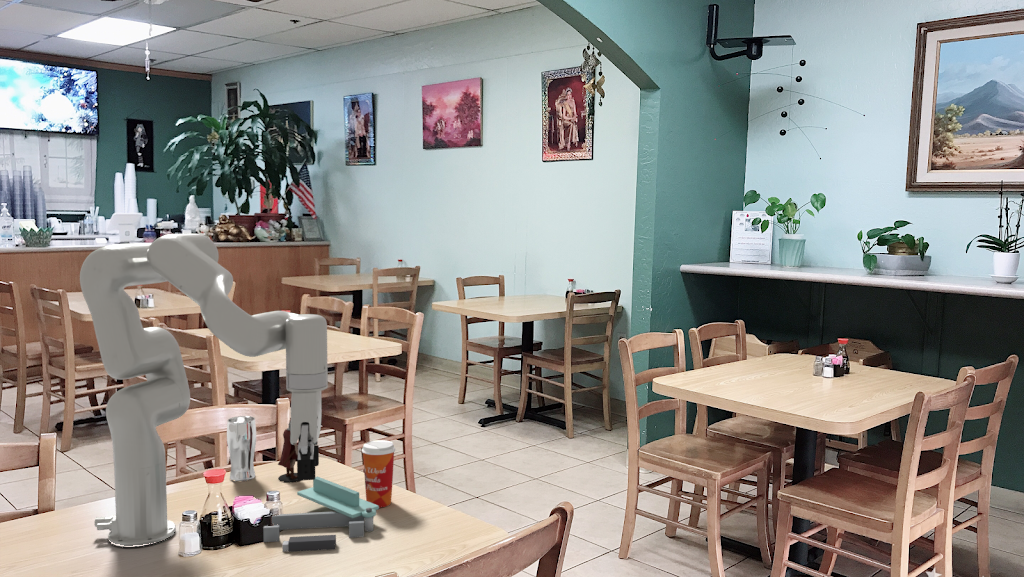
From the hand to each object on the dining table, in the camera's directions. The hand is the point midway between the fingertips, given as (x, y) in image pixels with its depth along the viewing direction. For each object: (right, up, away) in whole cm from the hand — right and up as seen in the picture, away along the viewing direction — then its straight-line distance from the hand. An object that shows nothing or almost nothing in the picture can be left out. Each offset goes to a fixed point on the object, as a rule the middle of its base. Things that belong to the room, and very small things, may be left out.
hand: (308, 471), depth 149 cm
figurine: (-17, -13, +48) cm, 53 cm away
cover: (+1, -12, +23) cm, 26 cm away
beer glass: (-29, -13, +48) cm, 58 cm away
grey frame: (-2, -16, +15) cm, 23 cm away
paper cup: (+8, -15, +32) cm, 36 cm away
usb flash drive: (-1, -17, +8) cm, 19 cm away
